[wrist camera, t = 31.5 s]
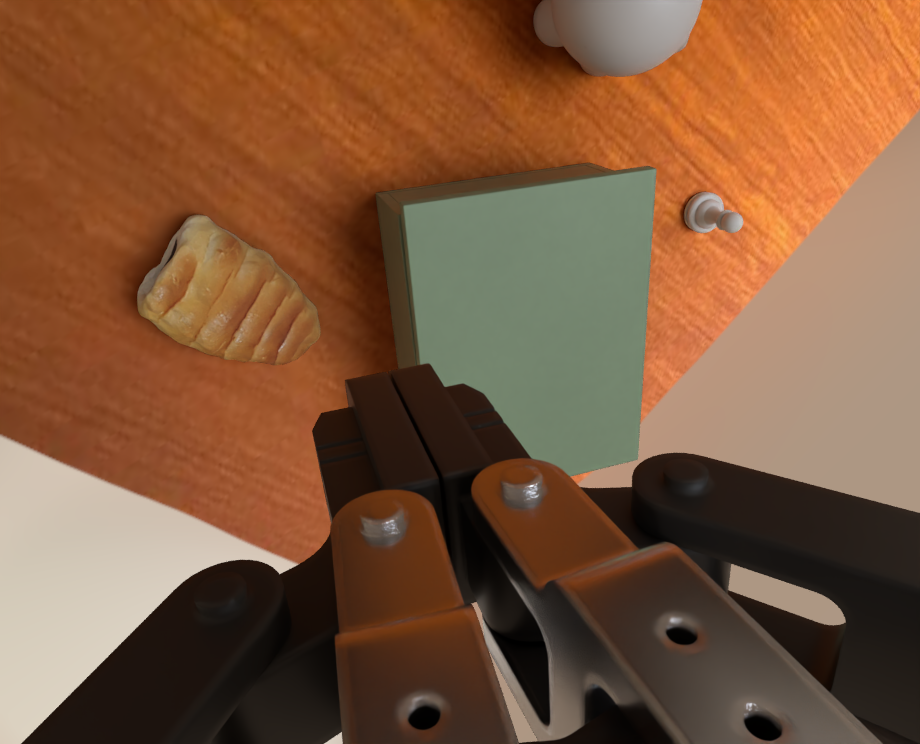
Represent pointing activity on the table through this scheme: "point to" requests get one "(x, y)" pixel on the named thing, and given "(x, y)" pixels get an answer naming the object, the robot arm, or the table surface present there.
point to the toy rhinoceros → (617, 32)
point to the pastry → (227, 298)
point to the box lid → (540, 306)
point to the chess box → (395, 243)
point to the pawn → (710, 214)
